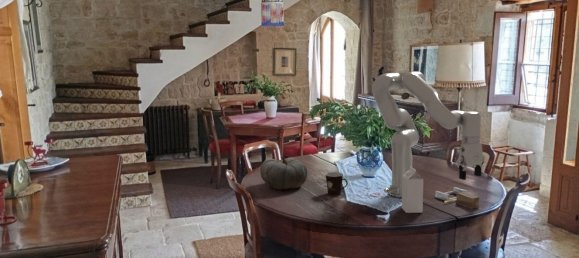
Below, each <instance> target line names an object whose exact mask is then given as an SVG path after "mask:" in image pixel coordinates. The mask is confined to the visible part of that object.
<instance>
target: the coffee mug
mask: <svg viewBox="0 0 579 258" xmlns="http://www.w3.org/2000/svg"><path fill="white" fill-rule="evenodd" d="M325 179H326V181H325V182H326V188H327V195H329V196H332V197H333V196H334V197H335V196H340V195H342V190H343V189H345V188H346V187H348V180H347V178H344V173H342V172H339V171H330V172H326V173H325ZM343 181H345V185H344V186H343Z"/></svg>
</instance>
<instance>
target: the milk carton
mask: <svg viewBox="0 0 579 258" xmlns="http://www.w3.org/2000/svg"><path fill="white" fill-rule="evenodd" d="M423 202H424V178H423V177H421V176H420V175H419V174H418V173H417V170H416V169H415V168H413V166H412V167H411V166H410V169H409V170H408V171H407V172H406V173H405V174H404V175H403V176H402V198H401V209H402V210H403V211H404V212H405V214H415V213H416V214H418V213H420V214H421V213H423V210H424V209H423V207H424V205H423Z"/></svg>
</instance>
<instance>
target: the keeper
mask: <svg viewBox="0 0 579 258" xmlns="http://www.w3.org/2000/svg"><path fill="white" fill-rule="evenodd" d="M459 192H466V193H468V190H466V189H462V188H460V187H457V186H453V190H451V191H447V192H442V191H439V190H435V195H434V196H435V198H436V199H440V200H443V201H448V200H452V199H457V196H455V197H450V195H452V194H455V195H457V193H459Z"/></svg>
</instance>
